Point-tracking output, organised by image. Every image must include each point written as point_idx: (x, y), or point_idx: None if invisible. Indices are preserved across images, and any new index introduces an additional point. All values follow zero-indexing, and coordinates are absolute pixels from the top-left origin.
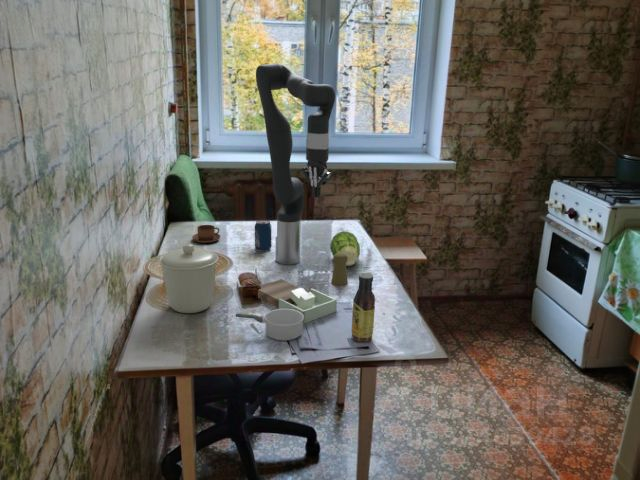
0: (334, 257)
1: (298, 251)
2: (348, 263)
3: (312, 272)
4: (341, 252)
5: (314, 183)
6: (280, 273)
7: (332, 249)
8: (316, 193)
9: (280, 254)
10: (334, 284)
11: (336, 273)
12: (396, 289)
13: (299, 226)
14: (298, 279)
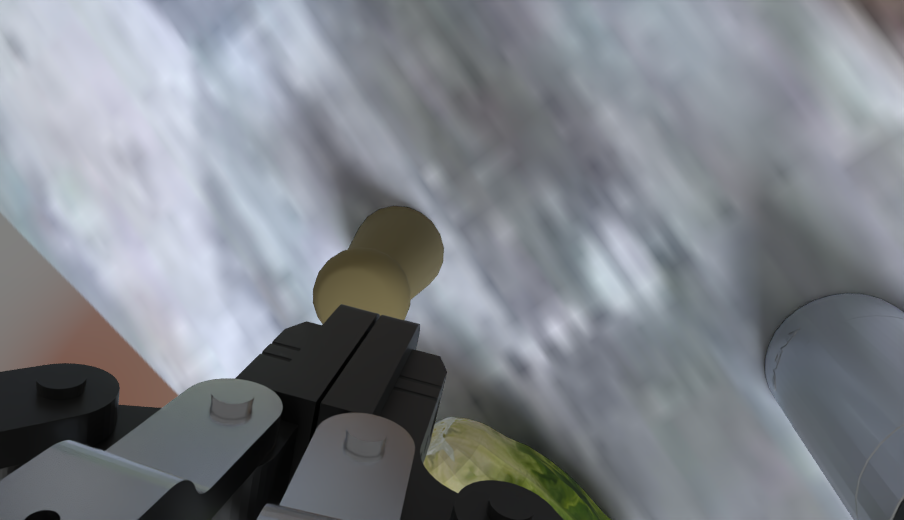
0: (378, 261)
1: (788, 398)
2: (436, 424)
3: (607, 291)
4: (483, 461)
5: (255, 441)
6: (765, 162)
7: (597, 518)
8: (301, 346)
9: (889, 315)
10: (400, 207)
11: (379, 229)
12: (143, 342)
13: (863, 515)
14: (612, 150)
